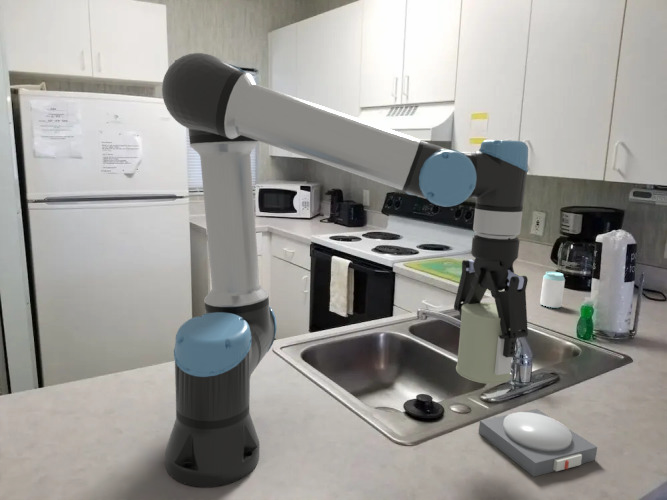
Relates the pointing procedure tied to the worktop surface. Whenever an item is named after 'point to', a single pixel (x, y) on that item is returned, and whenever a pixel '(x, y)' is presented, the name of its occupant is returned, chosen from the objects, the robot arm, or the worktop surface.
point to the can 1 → (479, 343)
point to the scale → (537, 442)
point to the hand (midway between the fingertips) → (483, 361)
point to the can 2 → (552, 289)
